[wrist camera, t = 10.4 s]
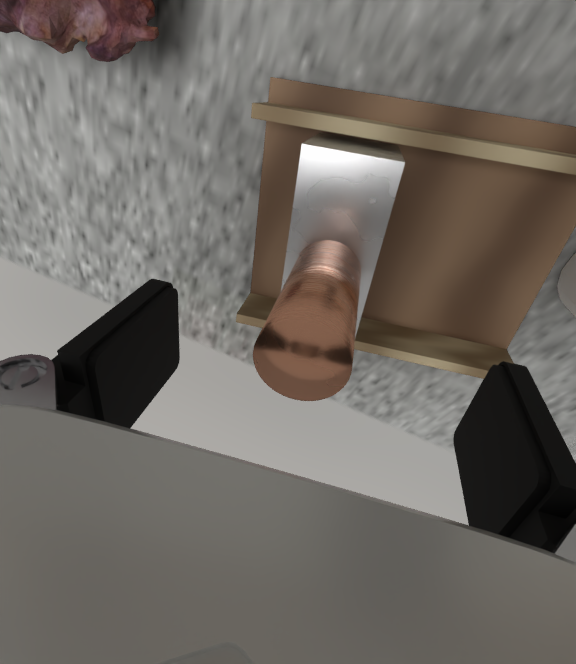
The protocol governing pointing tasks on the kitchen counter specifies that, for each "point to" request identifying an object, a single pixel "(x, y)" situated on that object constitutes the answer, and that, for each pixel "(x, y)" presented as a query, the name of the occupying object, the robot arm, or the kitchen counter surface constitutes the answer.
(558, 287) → the capsule
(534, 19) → the kitchen counter surface
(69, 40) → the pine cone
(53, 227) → the kitchen counter surface
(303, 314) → the ram
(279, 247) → the base
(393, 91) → the kitchen counter surface
